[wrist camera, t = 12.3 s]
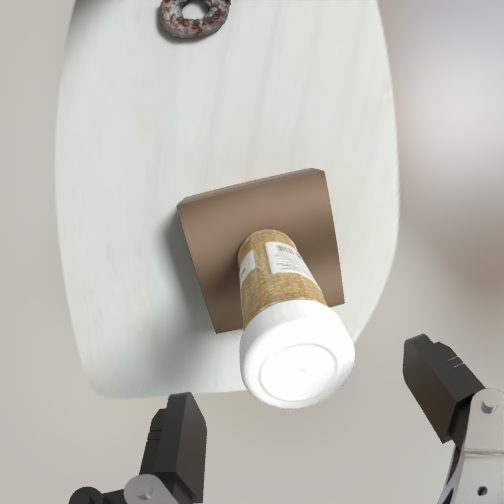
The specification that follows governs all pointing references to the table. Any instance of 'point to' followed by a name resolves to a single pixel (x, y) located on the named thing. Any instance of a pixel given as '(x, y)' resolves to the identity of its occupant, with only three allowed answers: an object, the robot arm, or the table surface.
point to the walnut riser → (256, 219)
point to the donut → (191, 28)
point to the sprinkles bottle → (288, 327)
